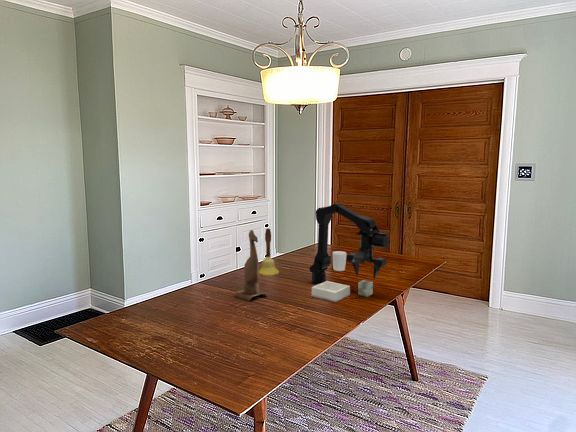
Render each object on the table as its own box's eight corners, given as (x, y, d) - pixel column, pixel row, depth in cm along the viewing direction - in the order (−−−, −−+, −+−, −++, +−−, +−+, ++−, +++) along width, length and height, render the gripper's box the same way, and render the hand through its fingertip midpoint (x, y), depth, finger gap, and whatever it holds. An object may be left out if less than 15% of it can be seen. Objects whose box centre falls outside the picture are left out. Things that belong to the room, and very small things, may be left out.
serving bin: (311, 296, 204) (311, 287, 203) (327, 289, 214) (327, 280, 213) (334, 302, 196) (335, 292, 195) (349, 295, 206) (350, 286, 205)
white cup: (345, 271, 245) (345, 254, 244) (331, 271, 247) (331, 253, 246) (346, 268, 253) (346, 251, 252) (333, 267, 255) (333, 250, 253)
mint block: (358, 294, 207) (358, 282, 206) (363, 291, 211) (363, 280, 210) (367, 296, 204) (367, 284, 203) (372, 294, 208) (372, 281, 207)
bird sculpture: (250, 303, 196) (252, 234, 190) (233, 296, 203) (234, 229, 198) (268, 297, 204) (269, 230, 199) (251, 291, 212) (252, 227, 206)
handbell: (283, 273, 243) (283, 229, 239) (264, 276, 236) (264, 231, 232) (271, 268, 253) (271, 226, 249) (253, 271, 246) (252, 228, 242)
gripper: (340, 245, 203) (339, 277, 206) (376, 251, 192) (375, 285, 194) (352, 241, 212) (351, 272, 214) (387, 246, 200) (386, 279, 203)
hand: (365, 277), depth 206 cm, fingers open, 9 cm apart
